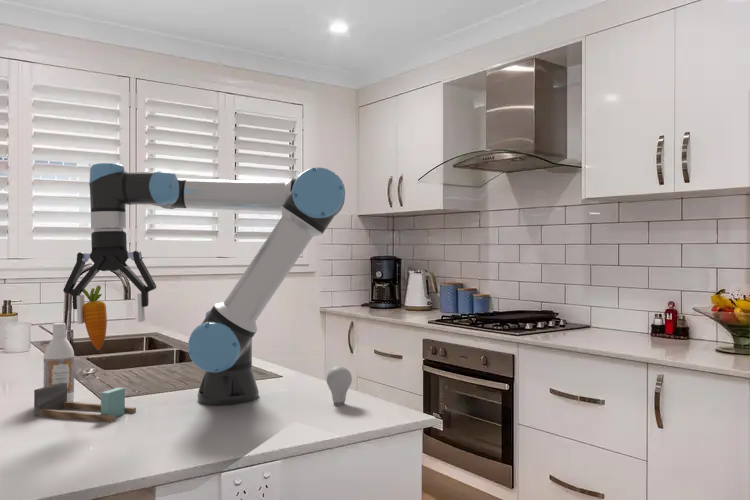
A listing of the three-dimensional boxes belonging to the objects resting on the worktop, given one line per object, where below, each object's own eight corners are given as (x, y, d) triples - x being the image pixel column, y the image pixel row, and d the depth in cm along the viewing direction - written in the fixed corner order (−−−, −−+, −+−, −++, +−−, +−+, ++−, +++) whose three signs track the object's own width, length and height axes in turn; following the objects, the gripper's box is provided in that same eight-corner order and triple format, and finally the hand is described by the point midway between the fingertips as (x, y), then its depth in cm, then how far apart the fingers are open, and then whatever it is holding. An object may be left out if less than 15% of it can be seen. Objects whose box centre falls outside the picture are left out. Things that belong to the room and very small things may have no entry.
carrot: (82, 352, 145) (76, 287, 146) (96, 350, 149) (89, 287, 151) (101, 349, 144) (95, 284, 145) (114, 347, 149) (108, 284, 150)
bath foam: (45, 406, 156) (45, 325, 156) (41, 401, 161) (42, 322, 161) (75, 403, 159) (76, 324, 159) (71, 397, 165) (72, 321, 165)
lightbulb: (340, 407, 157) (340, 363, 157) (356, 412, 152) (357, 366, 152) (321, 411, 152) (321, 366, 152) (337, 416, 148) (338, 369, 148)
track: (135, 414, 149) (136, 388, 149) (111, 423, 141) (111, 396, 141) (61, 406, 156) (62, 382, 156) (34, 415, 147) (34, 389, 147)
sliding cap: (124, 413, 149) (124, 388, 149) (108, 419, 143) (108, 393, 143) (117, 412, 149) (117, 387, 149) (100, 418, 144) (101, 392, 144)
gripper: (167, 229, 151) (170, 318, 152) (59, 232, 149) (62, 322, 149) (159, 228, 144) (162, 321, 144) (46, 231, 142) (48, 326, 142)
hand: (111, 322), depth 147 cm, fingers open, 13 cm apart
